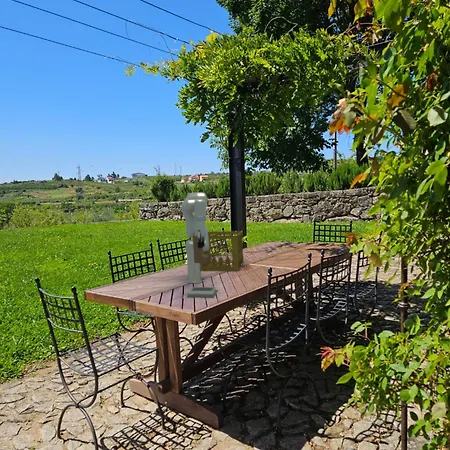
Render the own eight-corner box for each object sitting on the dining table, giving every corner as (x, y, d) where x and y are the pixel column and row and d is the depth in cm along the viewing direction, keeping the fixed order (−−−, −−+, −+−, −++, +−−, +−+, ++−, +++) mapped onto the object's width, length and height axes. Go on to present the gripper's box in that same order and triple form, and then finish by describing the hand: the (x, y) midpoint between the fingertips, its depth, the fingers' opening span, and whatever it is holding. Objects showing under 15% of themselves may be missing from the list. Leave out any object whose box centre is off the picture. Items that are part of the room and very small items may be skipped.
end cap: (192, 291, 265) (192, 286, 265) (217, 291, 262) (217, 286, 262) (187, 297, 249) (186, 292, 249) (213, 297, 247) (213, 292, 246)
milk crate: (205, 263, 368) (204, 231, 365) (243, 263, 362) (242, 231, 359) (197, 271, 333) (195, 236, 330) (238, 271, 327) (237, 235, 324)
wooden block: (209, 262, 254) (207, 235, 252) (205, 264, 250) (204, 236, 248) (198, 261, 258) (196, 234, 256) (194, 263, 255) (192, 235, 252)
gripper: (197, 218, 261) (198, 245, 262) (191, 220, 244) (192, 249, 246) (208, 217, 260) (209, 245, 261) (203, 220, 243) (204, 249, 244)
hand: (201, 246), depth 253 cm, fingers closed on wooden block, 5 cm apart
